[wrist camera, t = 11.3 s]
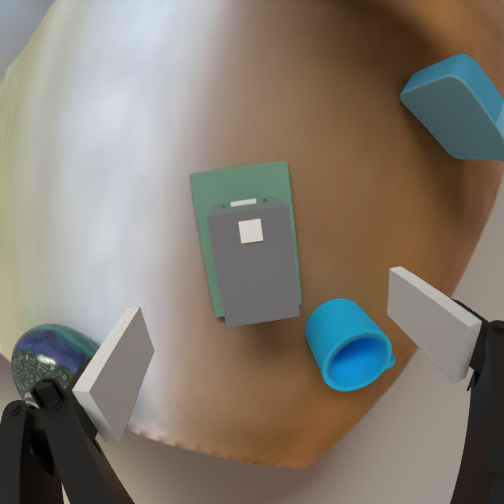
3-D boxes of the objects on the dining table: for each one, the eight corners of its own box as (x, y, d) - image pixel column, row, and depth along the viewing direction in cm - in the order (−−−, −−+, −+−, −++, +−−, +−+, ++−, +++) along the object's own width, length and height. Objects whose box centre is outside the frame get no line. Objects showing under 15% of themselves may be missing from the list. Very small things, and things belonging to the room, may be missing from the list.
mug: (293, 343, 36) (308, 383, 28) (324, 289, 34) (349, 320, 26) (363, 364, 38) (386, 399, 30) (394, 317, 36) (424, 347, 28)
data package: (463, 137, 30) (525, 135, 18) (452, 160, 31) (516, 162, 19) (408, 75, 28) (467, 49, 16) (394, 96, 28) (455, 73, 17)
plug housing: (214, 204, 29) (206, 217, 21) (272, 196, 30) (289, 205, 21) (227, 287, 32) (226, 328, 23) (282, 278, 32) (300, 316, 23)
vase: (121, 407, 37) (98, 471, 24) (41, 372, 35) (3, 422, 22) (129, 332, 34) (91, 400, 21) (35, 293, 32) (-22, 337, 19)
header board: (191, 174, 30) (184, 174, 25) (284, 161, 30) (292, 158, 26) (215, 312, 34) (214, 330, 30) (299, 299, 34) (308, 315, 30)
